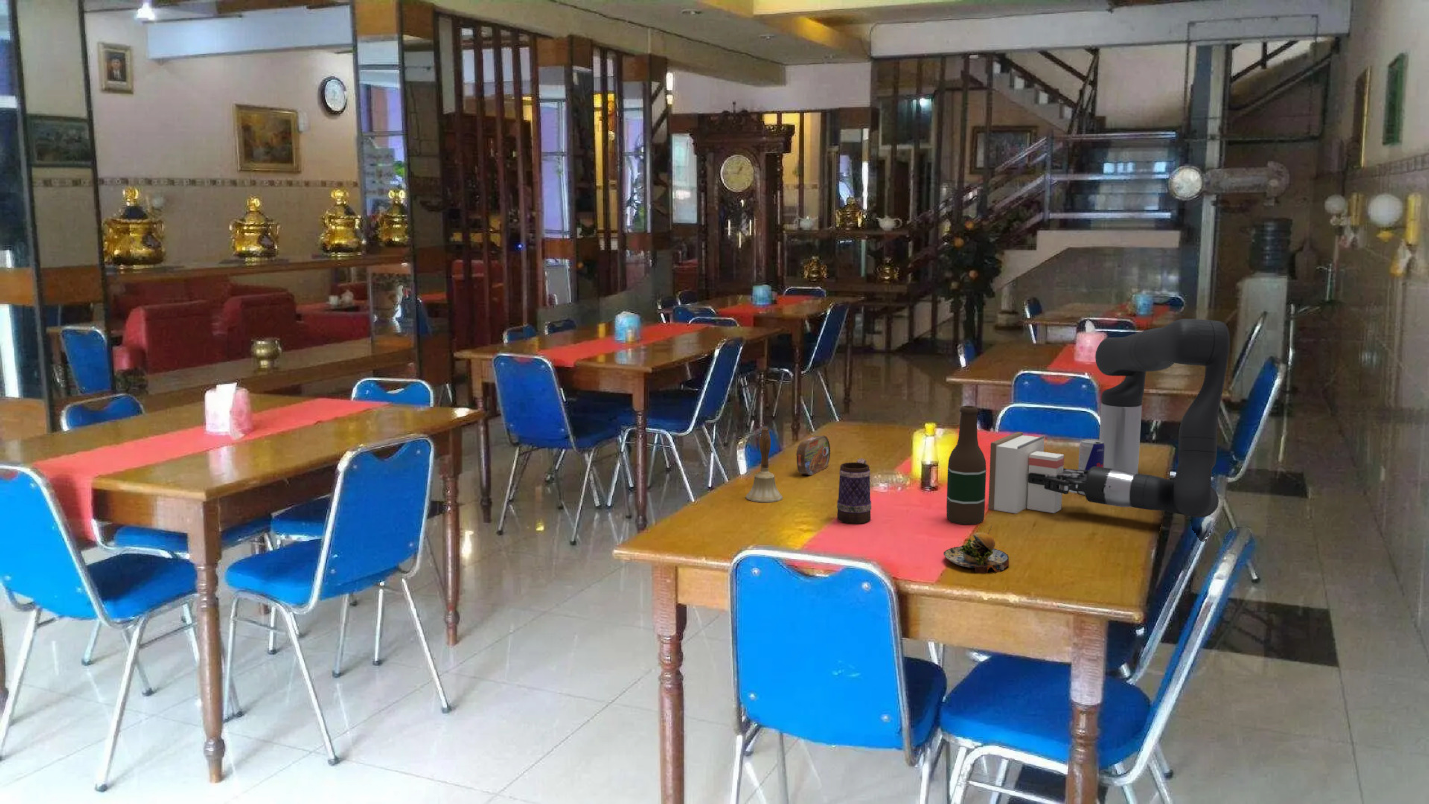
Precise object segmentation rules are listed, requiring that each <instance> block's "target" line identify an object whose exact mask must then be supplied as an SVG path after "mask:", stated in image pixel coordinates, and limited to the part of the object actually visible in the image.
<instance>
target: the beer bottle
mask: <svg viewBox="0 0 1429 804" xmlns="http://www.w3.org/2000/svg"><path fill="white" fill-rule="evenodd" d="M959 412H960V419H959V430H958V438H957V442H956V445H955V447H954V448H953V449H952V451H951V453H950V455H949V457H948V463H947V478H946V479H947V480H946V481H947V482H946V485H947V486H946V518H947V520H949V522H950V523H953V524H958V525H963V526H964V525H965V526H966V525H978V524H980V523H982V522H984V521H985V509H986V508H985V506H986V480H987V460H986V457H985V454H984V452H983V451H982V449H981V447H980V446H979V441H978V413H979V409H978V407H976V406H974V405H963V406H960V408H959Z"/></svg>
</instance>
